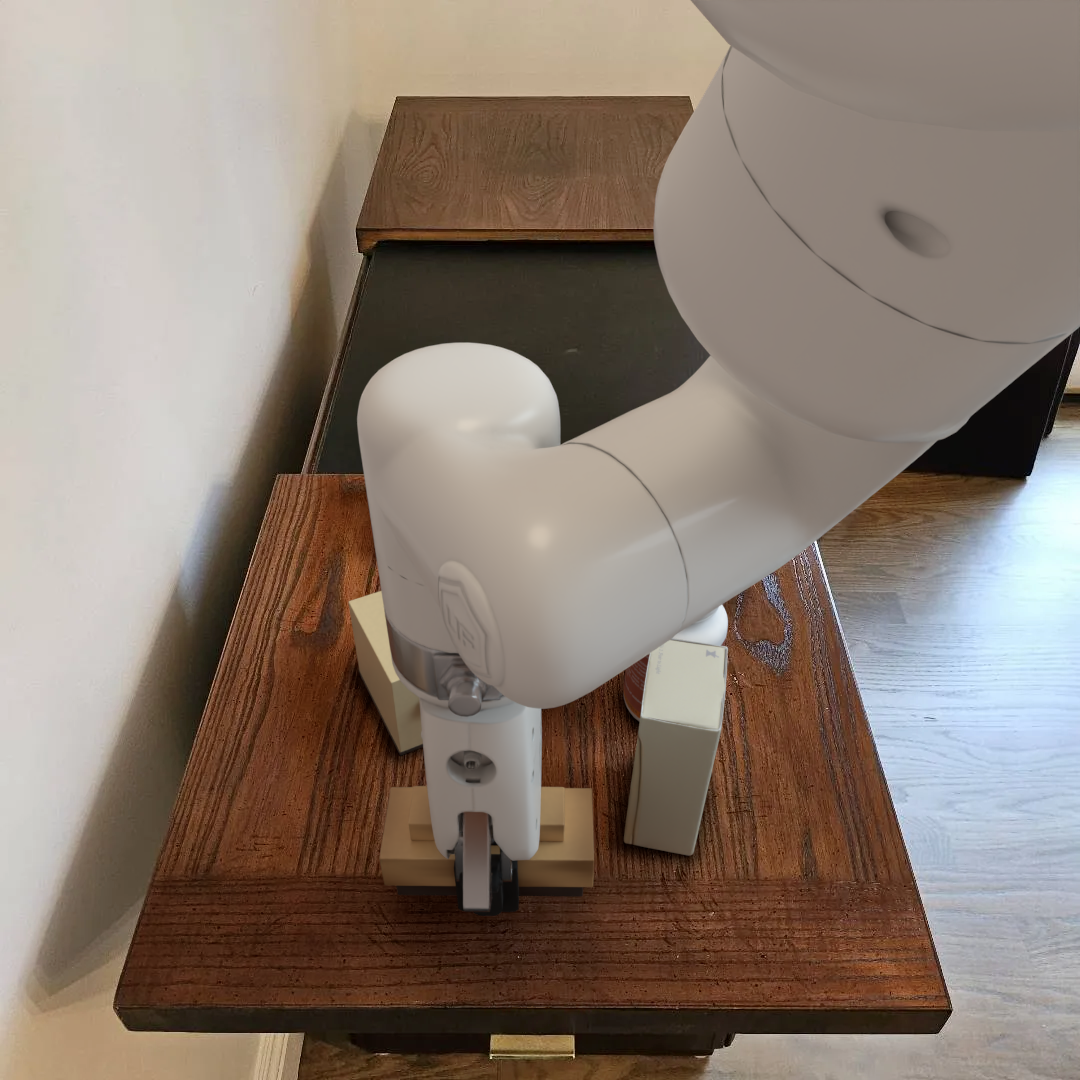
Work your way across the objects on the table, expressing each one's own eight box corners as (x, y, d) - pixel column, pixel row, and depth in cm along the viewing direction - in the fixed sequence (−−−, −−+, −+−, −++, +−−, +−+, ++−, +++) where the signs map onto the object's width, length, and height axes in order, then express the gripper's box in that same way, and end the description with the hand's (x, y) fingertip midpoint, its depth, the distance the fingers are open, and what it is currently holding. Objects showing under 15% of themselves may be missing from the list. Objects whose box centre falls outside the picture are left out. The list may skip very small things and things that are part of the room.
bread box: (568, 697, 69) (570, 625, 64) (403, 762, 64) (393, 690, 60) (513, 618, 74) (512, 547, 70) (358, 672, 70) (346, 600, 66)
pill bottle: (663, 751, 65) (679, 632, 58) (604, 693, 69) (613, 573, 62) (732, 709, 68) (756, 590, 61) (672, 655, 72) (688, 536, 65)
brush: (590, 831, 57) (592, 770, 53) (592, 903, 53) (594, 843, 50) (397, 830, 57) (387, 769, 54) (387, 901, 53) (375, 841, 50)
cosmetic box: (636, 763, 64) (650, 631, 56) (705, 775, 64) (729, 642, 56) (622, 847, 60) (636, 715, 52) (696, 861, 59) (722, 730, 51)
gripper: (560, 782, 37) (559, 1017, 48) (560, 506, 50) (560, 743, 62) (358, 781, 37) (405, 1016, 49) (411, 506, 50) (438, 742, 62)
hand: (491, 861), depth 55 cm, fingers closed on brush, 4 cm apart
